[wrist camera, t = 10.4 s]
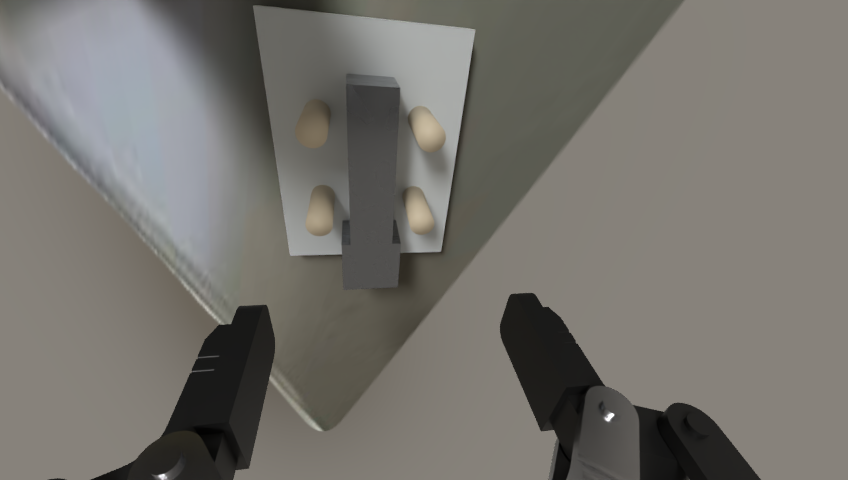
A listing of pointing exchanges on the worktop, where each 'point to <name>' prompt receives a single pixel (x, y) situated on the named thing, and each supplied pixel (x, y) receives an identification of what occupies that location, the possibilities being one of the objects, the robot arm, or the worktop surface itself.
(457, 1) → the worktop surface
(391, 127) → the grey long block
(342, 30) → the rack
